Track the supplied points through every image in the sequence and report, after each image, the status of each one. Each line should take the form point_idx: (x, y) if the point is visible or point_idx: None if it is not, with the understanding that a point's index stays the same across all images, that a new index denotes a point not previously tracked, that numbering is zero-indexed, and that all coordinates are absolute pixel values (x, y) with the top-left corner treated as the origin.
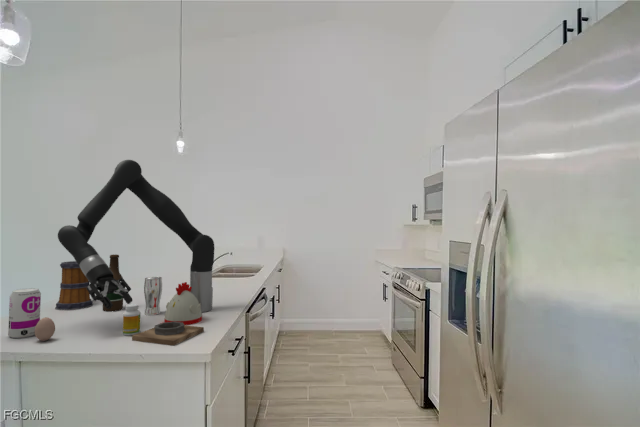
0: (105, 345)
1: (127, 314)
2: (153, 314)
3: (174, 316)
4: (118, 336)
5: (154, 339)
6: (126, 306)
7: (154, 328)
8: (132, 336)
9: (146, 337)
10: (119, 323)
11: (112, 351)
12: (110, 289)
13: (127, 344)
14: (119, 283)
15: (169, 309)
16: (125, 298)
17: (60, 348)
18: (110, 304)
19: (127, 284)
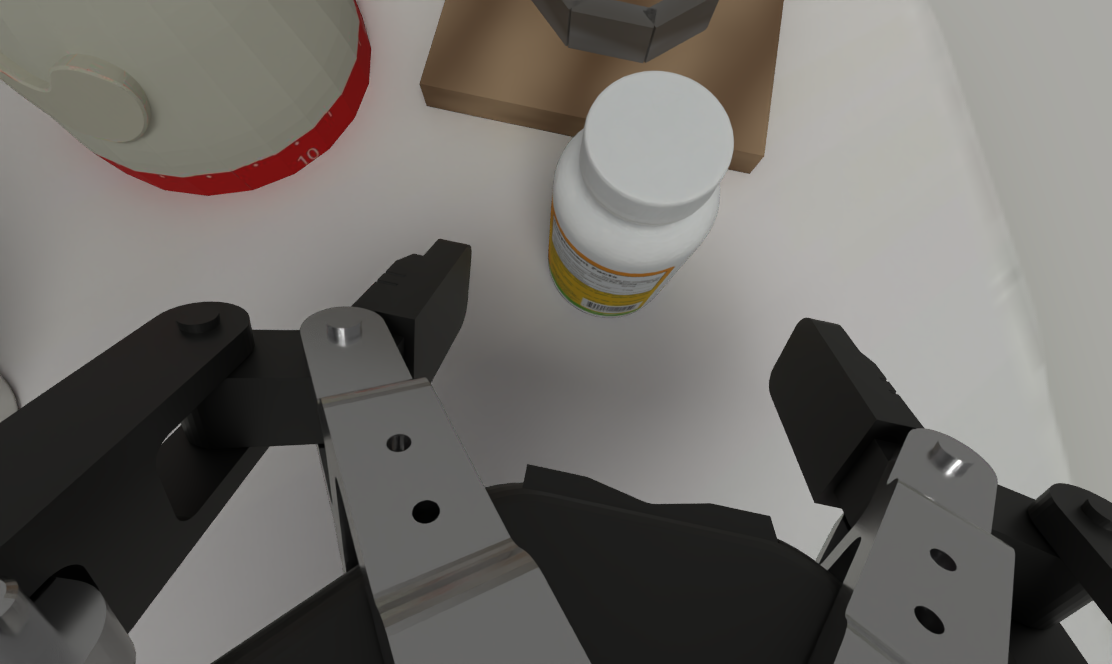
0: (875, 276)
1: (719, 185)
2: (6, 389)
3: (336, 19)
4: (687, 310)
5: (779, 5)
6: (725, 170)
7: (573, 97)
8: (761, 156)
9: (776, 51)
10: (329, 541)
11: (953, 170)
12: (727, 523)
13: (824, 157)
14: (102, 645)
15: (263, 31)
16: (436, 346)
17: None
18: (838, 334)
19: (32, 410)
